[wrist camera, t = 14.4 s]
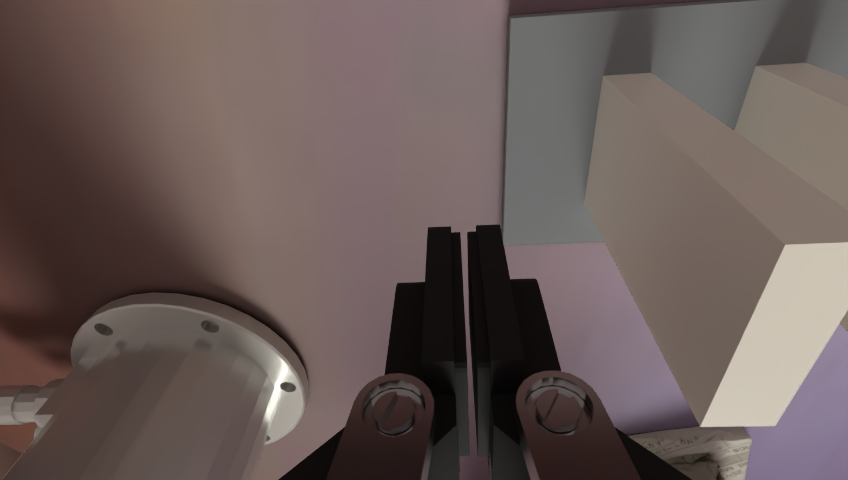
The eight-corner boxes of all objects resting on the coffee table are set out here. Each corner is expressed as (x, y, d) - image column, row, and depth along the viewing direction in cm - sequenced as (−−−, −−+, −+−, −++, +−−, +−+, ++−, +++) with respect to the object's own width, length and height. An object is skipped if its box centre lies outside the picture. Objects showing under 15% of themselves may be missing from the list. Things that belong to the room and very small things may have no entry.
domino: (584, 202, 18) (700, 426, 10) (602, 75, 15) (785, 244, 7) (624, 200, 18) (775, 426, 10) (651, 72, 15) (890, 240, 7)
